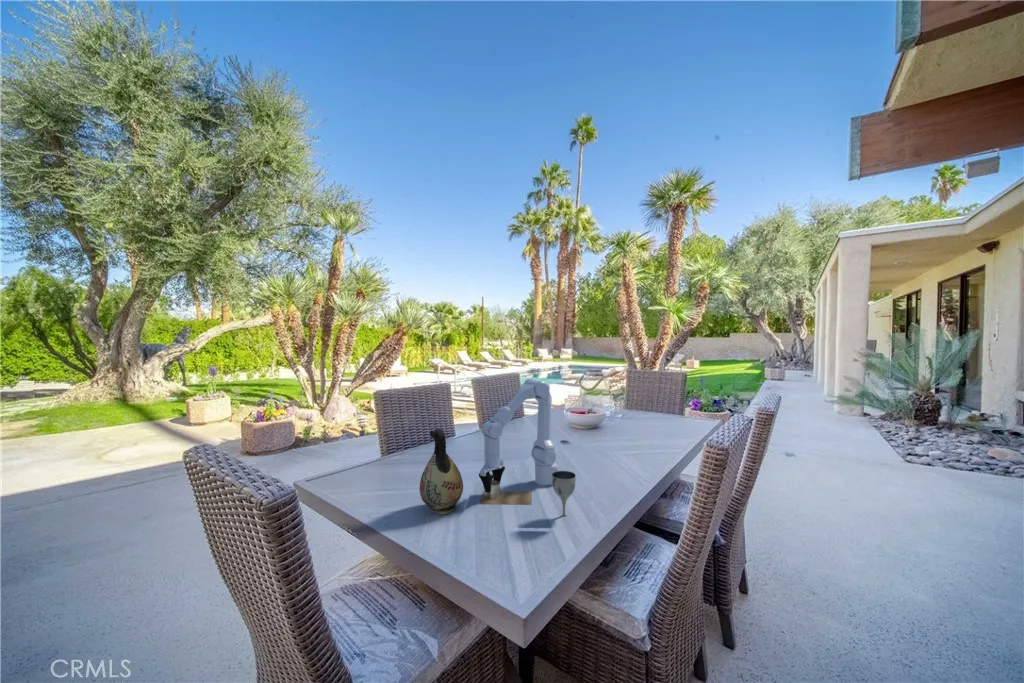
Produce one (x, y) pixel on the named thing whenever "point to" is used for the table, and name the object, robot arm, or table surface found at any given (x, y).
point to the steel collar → (494, 490)
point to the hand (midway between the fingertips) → (492, 488)
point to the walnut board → (509, 498)
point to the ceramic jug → (441, 478)
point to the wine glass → (563, 486)
